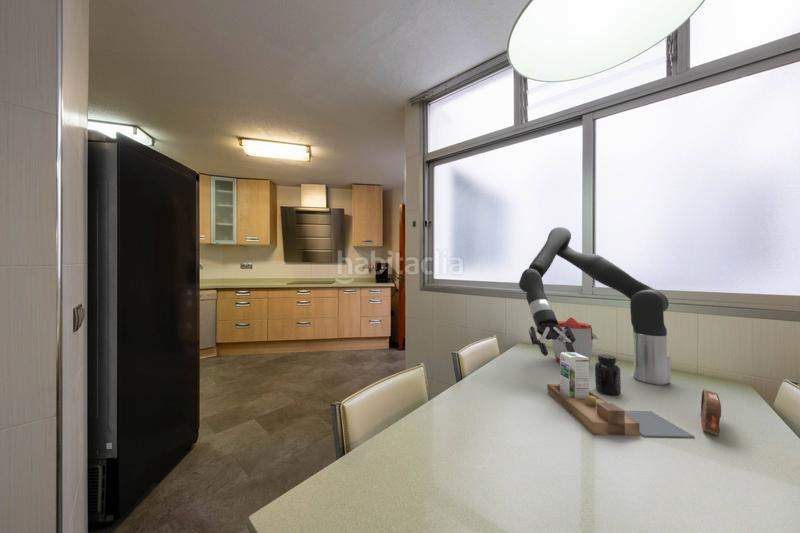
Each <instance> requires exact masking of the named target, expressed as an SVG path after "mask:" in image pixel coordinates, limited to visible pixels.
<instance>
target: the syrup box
mask: <svg viewBox="0 0 800 533" xmlns="http://www.w3.org/2000/svg"><path fill="white" fill-rule="evenodd" d="M559 384H560V392H561V393H562V394H563V395H564V396H566V397H567V398H585V399H586V395H589V390H590V362H589V358H588V357H585V356H582V355H580V354H577V353H574V352H563V353H560V362H559Z"/></svg>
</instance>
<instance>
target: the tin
mask: <svg viewBox="0 0 800 533" xmlns="http://www.w3.org/2000/svg"><path fill="white" fill-rule="evenodd" d="M701 393H702V394H701V401H700V402H701V403H700V405H701V406H700V422H701V427H702V428H701V429H702V432H705V433H709V434H712V435H715V436H718V435H720V433H721V429H720V421H721V417H722V404H721V400H720V397H719V395H718V393H716V392H714V391H710V390H706V389H702V392H701Z"/></svg>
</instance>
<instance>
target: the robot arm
mask: <svg viewBox="0 0 800 533" xmlns="http://www.w3.org/2000/svg"><path fill="white" fill-rule="evenodd" d="M571 239H572V233H571V231H570V230H569V229H568V228H566V227H563V226H560V227H559V226H558V227H554V228H552V229H551V230H550V232H549V234H548V236H547V240H546V241H545V242H544V245H543V247H542V248H541V249H540V250H539V252H538V253H537V255H536V256H535V258H534V259H533V260H532V262H531V263H530V264H529V267H528V268H526V269H524V271H523V272H522V273H521V276H520V279H519V281H518V287H519V289H520V290H521V291H522V292H525V293H526V294H525V295H526V296H525V297H526V301H527V304H528V306H529V310H530V313H531V314H530V315H531V316H532V317H531V318H533V322H534V324H535V327H534V326H533V325H532V326H530V328H529V329H528V334H529V338H530V341H531V345H535V346H536V345H537V346H538V348H539V350H540V353H541V354H542V355H543V356H544V357H548V355H549V351H548V349H547V346H546V344H545V343H544V342H545V339H546V340H547V341H548V340H549V341H550V340H552V339H553V340H556V339H557V340H558V341H560V342H562V343H564V344H565V345H566V349H567V351H568V352H575V350H574V348H573V346H572V344H573V343H574V341H575V340H576V339H575V337H574V335H573V333H572V331H571V329H570V327H569V326H566V327H560V326H559V325H558V319H557V316H556V314H555V312H554V310H553V307H552V305H551V303H550V301H549V300H548V297H547V296H546V293H545V290H544V289H545V288H544V282H543V277H544V275H546V273H547V271H548V270H549V269H550V267H551V265H552V264H553V262H554V260H555V258H556V256H558V257H559V258H562V259H563V260H564V261H567V262H569V263H570V264H571V265H573V266H574V267H576V268H577V269H579V270H580V271H582V272H583V273H585V274H586V275H587V276H589V277H590V278H592V279H593V280H595V281H596V282H598V283H599V284H601V285H604V286H606V287H608V288H611V289H613V290H615V291H616V292H619V293H621V294H622V295H624V296H626V297H627V299H629V300H630V301H629V302H630V304H629V305H630V306H629V307H630V308H629V309H630V322H631V323H630V324H631V325H632V335H633V340H632V342H633V377H634V378H635V380H637V381H640V382H643V383H648V384H653V385H661V386H663V385H664V386H665V385H668V384H671V381H672V380H671V356H669V355H668V334H667V333H668V331H667V327H666V325H665V318H664V312H665V311H667V310H668V308H669V300H668V298H667V296H666V295H665V294H664V293H662V292H661V291H659V290H657V289H655V288H653V287H652V286H651V287H650V286H649V285H647V284H645V283H643V282H641V281H640V280H637V279H636V278H634V277H632V276H631V275H630V274H629V273H627V272H626V271H624V270H623V269H621V268H620V267H619V266H617V265H616V264H614V263H613V262H612V261H610V260H608V259H606V258H605V257H603V256H602V255H599V254H596V253H585V252H579V251H577V250H575V249H573V248H572V247H570V246H569V244H570V242H571ZM561 331H563V333H564V334H563V333H562V332H561ZM536 333H538V334H539V335H540V337H539V339H538V337H537V334H536ZM559 336H561V337H559Z"/></svg>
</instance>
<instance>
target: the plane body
mask: <svg viewBox="0 0 800 533" xmlns="http://www.w3.org/2000/svg"><path fill="white" fill-rule="evenodd" d="M546 388H547V389H546V391H547V392H546V393H547V394H548V395H549V397H551V398H552V399H553V400H554V401H555V402H556V403H558V404H559V406H561V407H562V408H563V409H564V410H566V412H567V413H569V414H570V415H571V417H574V419H575V420H577V422H579V423H580V424H581V425H582V426H583V427H584V428H586V429H587V430H588V432H590V433H591V434H593V436H641V435H640V430H639V423H638V422H637V421H635V420H634V419H632V418H631V417H629V416H628V415H626V414H625V411H626V410H624V409H623V408H621V407H620V406H618V405H617V404H615V403H613V402H608V401H607V400H605V399H604V398H602V397H600V396H599V395H597V394H596V393H594V392H593V391H591V390H590V389H589V395H586V399H585V398H567V397H566V396H564V395H563V394H562V393H561V392H560V383H559V384H557V383H556V384H554V383H552V384H551V383H549V384H548V383H547V385H546Z"/></svg>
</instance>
